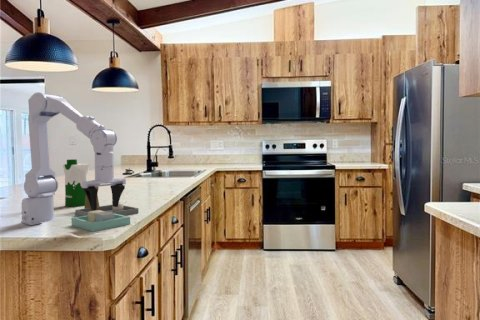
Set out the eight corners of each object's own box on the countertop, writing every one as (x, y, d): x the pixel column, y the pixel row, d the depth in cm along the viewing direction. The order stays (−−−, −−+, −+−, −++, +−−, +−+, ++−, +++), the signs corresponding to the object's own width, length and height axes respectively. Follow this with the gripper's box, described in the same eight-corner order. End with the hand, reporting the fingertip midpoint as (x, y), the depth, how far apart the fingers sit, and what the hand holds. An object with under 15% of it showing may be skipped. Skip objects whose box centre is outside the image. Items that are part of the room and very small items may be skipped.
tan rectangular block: (94, 225, 124) (94, 213, 124) (88, 223, 126) (87, 211, 126) (105, 223, 127) (105, 211, 127) (99, 221, 129) (99, 210, 129)
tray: (96, 222, 132) (96, 214, 131) (75, 216, 141) (75, 209, 141) (138, 214, 144) (138, 208, 144) (116, 210, 154) (116, 204, 154)
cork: (95, 209, 156) (94, 182, 156) (103, 211, 152) (102, 183, 152) (81, 211, 152) (80, 183, 151) (88, 213, 148) (88, 185, 147)
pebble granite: (116, 213, 143) (116, 204, 143) (110, 212, 146) (110, 203, 146) (125, 212, 147) (125, 203, 146) (119, 211, 149) (119, 202, 149)
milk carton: (61, 206, 165) (60, 159, 164) (80, 203, 172) (79, 158, 171) (74, 207, 160) (73, 160, 159) (92, 204, 168) (91, 159, 166)
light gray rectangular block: (102, 227, 120) (102, 215, 120) (95, 226, 123) (95, 213, 123) (114, 225, 123) (113, 213, 123) (107, 223, 126) (106, 211, 126)
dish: (92, 233, 116) (92, 223, 115) (71, 227, 124) (71, 217, 124) (130, 225, 126) (130, 216, 125) (108, 220, 134) (108, 212, 134)
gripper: (89, 168, 116) (89, 212, 117) (130, 166, 127) (131, 206, 128) (77, 167, 121) (78, 209, 121) (119, 165, 132) (119, 204, 132)
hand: (104, 208), depth 125 cm, fingers open, 7 cm apart
